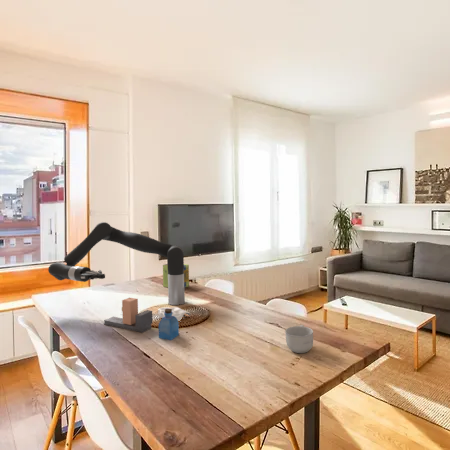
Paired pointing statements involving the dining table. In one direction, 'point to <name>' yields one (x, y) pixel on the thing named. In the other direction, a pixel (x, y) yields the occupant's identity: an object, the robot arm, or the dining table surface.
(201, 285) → the dining table surface
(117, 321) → the rail
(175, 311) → the white brass knuckles
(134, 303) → the carriage
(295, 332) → the teacup
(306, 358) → the dining table surface
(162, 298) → the dining table surface
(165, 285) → the protein box
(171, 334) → the perfume bottle
